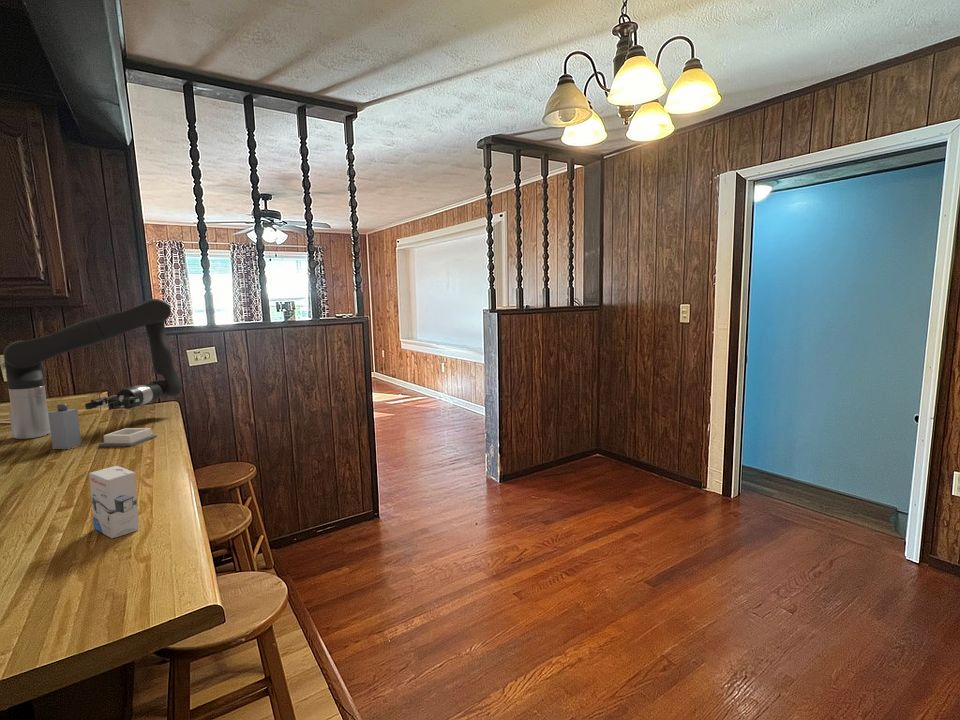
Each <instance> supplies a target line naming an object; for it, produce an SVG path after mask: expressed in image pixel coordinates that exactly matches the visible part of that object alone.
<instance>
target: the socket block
mask: <svg viewBox="0 0 960 720" xmlns="http://www.w3.org/2000/svg"><path fill="white" fill-rule="evenodd" d="M157 436H158V434H153V433H152V428H151V427H150V428H149V427H147V428H146V427H145V428H144V427H130V428H129V427H125V428H122V429H120V430H116V431H113V432H110V433H107V434H104V435H103V441H104V442H101V443H98V447H126V446H131V447H134V446H136V444H137V445H139V444H141V442H142V443H144V442H143V441H145V442H147V441H150V440H152V439H151V438H153V439H155V438H157ZM154 437H155V438H154ZM149 439H150V440H149ZM146 440H147V441H146ZM138 443H139V444H138ZM133 445H134V446H133Z"/></svg>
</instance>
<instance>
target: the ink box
mask: <svg viewBox="0 0 960 720" xmlns="http://www.w3.org/2000/svg"><path fill="white" fill-rule="evenodd" d="M88 474H89V475H88V476H89V485H90V496H91V507H92V518H93V519H92V520H93V529H94V530H96V531H98V532H100V533H101V534H103V535H105V536H107V537H108V538H110V539H115V538H118V537H121V536H125V535H128V534H131V533H134V532H137V531H140V530H139V529H140V524H139V513H138V500H137V499H138V498H137V486H136V484H137V483H136V473H135V472H134V471H132V470H129V469H127V468H124V467H121V466H119V465H114V466H109V467H106V468H103V469H99V470H96V471H91V472H89V473H88Z"/></svg>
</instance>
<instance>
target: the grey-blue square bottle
mask: <svg viewBox="0 0 960 720" xmlns="http://www.w3.org/2000/svg"><path fill="white" fill-rule="evenodd" d="M56 408H57V410H53V411H48V416H49V424H50V432H51V433H50V439H51V448H52V450H53V449H69V448H72V447H75V446H78V447H80V446H79V445H81V446H83V445H82V443H83V442H82V436H81V428H80V420H79V413H78V408H69V407H68V403H60V404H56ZM75 448H76V447H75ZM72 449H73V448H72ZM69 450H70V449H69Z"/></svg>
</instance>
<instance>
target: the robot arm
mask: <svg viewBox="0 0 960 720" xmlns="http://www.w3.org/2000/svg"><path fill="white" fill-rule="evenodd" d="M171 311H172V308H171V306H170V305H169V303H167V302H166V301H165V300H163V299H159V298H149V299H146V300H144V301H143V302H142V303H141V304H140V305H136V306H134V307H132V308H130V309H127V310H122V311H119V312H112V313H111V312H110V313H107V314H101V315H97V316H94V317H91V318H90V317H89V318H87V319H84V320H82V321H81V320H80V321H79V322H75V323H73V324H71V325H68V326H66V327H63V328H62V329H60V330H58V331H55V332H53V333H51V334H48V335H47V334H46V335H44V336H40V337H36V338H32V339H27V340H16V341H13V342H11V343H9V344H7V346H6V347H5V348H4V350H3V361H4V367H5V375H6V381H7V382H6V383H7V387H8V395H9V396H8V397H9V402H10V408H11V409H10V410H9V411H8V414H9V421H10V428H11V434H12V439H13V438H15V440H17V439H18V440H29V439H35V438H41V437H45V436H48V435H50V434H51V432H50V424H49V416H48V412H49V409H48V408H49V407H48V403H47V402H48V401H47V395H46V388H45V378H44V371H43V368H42V367H43V366H42V362H45V361H47V360H49V359H52V358H54V357H56V356H59V355H63V354H65V353H68V352H72V351H76V350H81V349H84V348H88V347H92V346H94V345H97V344H100V343H103V342H106V341H109V340H112V339H113V338H116V337H119V336H121V335H123V334H126V333H128V332H130V331H133V330H136V329H138V328H141V327H145V329H146V333H147V336H148V337H147V338H148V342H149V349H150V355H151V356H150V357H151V362H152V367H153V368H152V369H153V372H154V374H156V375H159V376H162V377H163V379H155V380H153V381H151V382H149V383H145V384H141V385H140V384H139V385H134V386H129V387H125V388H122V389H120V390H118V391H117V394H113V395H111V396H102V397H99V398H94V399H90V402H86V403H85V404H84V407H85V409H86V410H92V409H96V408H101V407H102V408H108V410H114V409H117V408H122V409H125V410H129V409H133V408H136V407H137V408H138V407H140V406H144V405H146V404H147V403H151V402H155V401H158V400H159V399H160V398H161V397H162V398H165V397H170V398H171V397H177V396H179V395H180V394H181V393H182V391H183V390H182V389H183V384H182V382H181V380H180V377H179V376H178V372H177V371H176V369H175V364H174V359H173V353H172V349H171V347H170V343H169V341H168V337H167V334H166V323H165V321H166V320H168V319H169V317H170V315H171V313H172V312H171ZM49 433H50V434H49ZM47 434H48V435H47Z"/></svg>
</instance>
